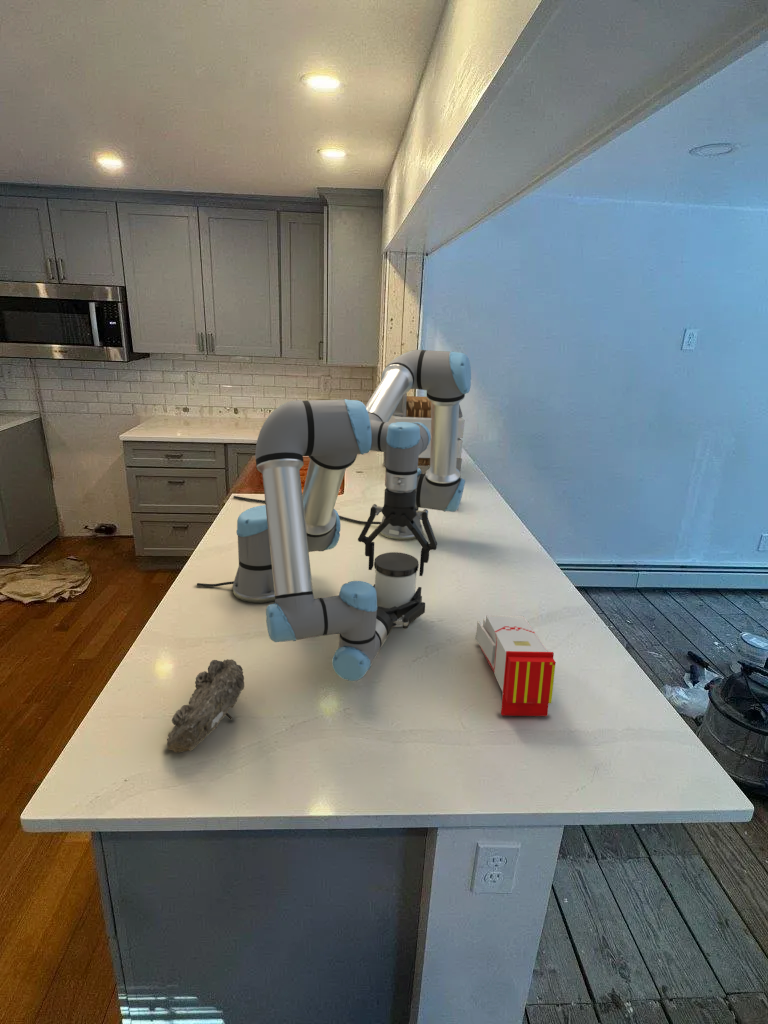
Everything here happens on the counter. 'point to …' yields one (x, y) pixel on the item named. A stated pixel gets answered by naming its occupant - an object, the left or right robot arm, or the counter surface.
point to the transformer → (421, 412)
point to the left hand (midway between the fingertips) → (399, 587)
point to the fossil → (206, 705)
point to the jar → (394, 590)
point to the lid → (396, 564)
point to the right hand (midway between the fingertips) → (396, 570)
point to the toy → (518, 664)
